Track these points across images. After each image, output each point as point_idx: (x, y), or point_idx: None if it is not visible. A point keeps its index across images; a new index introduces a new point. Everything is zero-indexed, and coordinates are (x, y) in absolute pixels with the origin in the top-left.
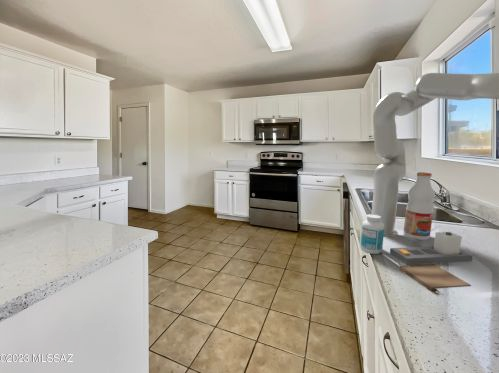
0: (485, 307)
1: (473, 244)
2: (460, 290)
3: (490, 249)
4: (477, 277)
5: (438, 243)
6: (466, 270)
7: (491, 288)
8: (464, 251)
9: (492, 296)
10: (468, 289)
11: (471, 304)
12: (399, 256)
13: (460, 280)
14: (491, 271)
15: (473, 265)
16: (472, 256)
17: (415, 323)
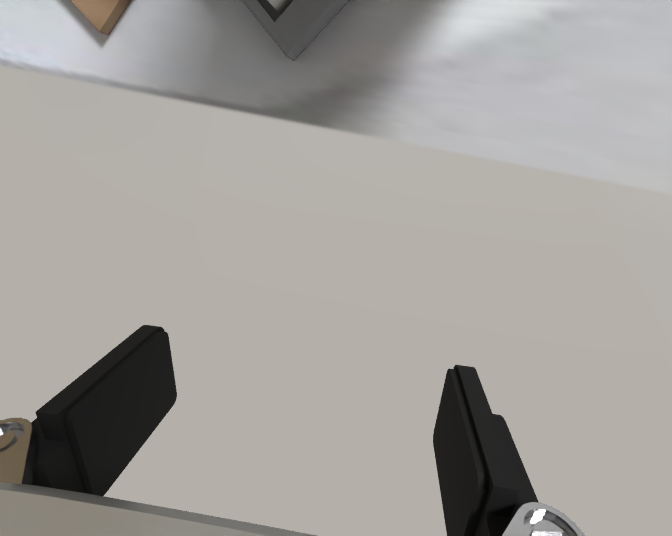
0: (43, 57)
1: (516, 95)
2: None
3: (481, 146)
4: (194, 64)
5: None
6: (225, 39)
7: (150, 88)
8: (308, 29)
9: (108, 82)
10: None
11: (31, 29)
12: None
13: (104, 6)
14: (266, 109)
15: (281, 65)
16: (287, 55)
17: None
